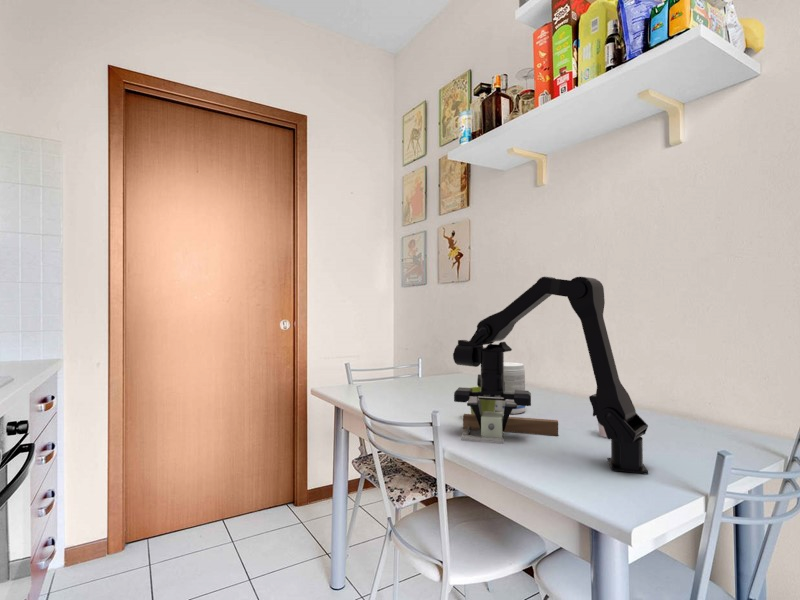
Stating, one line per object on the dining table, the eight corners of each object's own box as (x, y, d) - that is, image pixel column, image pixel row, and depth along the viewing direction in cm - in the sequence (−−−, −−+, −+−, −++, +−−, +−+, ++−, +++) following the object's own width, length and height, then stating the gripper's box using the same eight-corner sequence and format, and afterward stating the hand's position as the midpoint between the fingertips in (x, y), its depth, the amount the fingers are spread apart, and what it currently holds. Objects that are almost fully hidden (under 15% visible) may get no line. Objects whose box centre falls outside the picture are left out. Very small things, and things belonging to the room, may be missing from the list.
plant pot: (482, 425, 121) (482, 394, 121) (459, 418, 129) (459, 388, 129) (506, 420, 126) (506, 390, 126) (482, 414, 134) (482, 385, 134)
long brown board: (558, 435, 111) (558, 422, 111) (463, 428, 118) (463, 415, 118) (557, 433, 113) (557, 420, 113) (464, 426, 120) (464, 413, 120)
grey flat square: (503, 443, 105) (503, 439, 105) (461, 439, 108) (461, 435, 108) (505, 432, 114) (505, 428, 114) (466, 429, 117) (466, 425, 117)
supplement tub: (531, 411, 138) (531, 363, 138) (514, 416, 131) (514, 366, 131) (504, 406, 145) (504, 361, 145) (487, 410, 138) (487, 363, 138)
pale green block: (501, 440, 107) (501, 419, 107) (480, 438, 108) (480, 418, 108) (503, 431, 114) (503, 412, 114) (483, 430, 116) (483, 411, 116)
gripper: (530, 365, 117) (530, 425, 116) (460, 363, 122) (460, 420, 122) (530, 371, 106) (531, 436, 106) (453, 368, 111) (453, 431, 111)
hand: (492, 430), depth 111 cm, fingers closed on pale green block, 5 cm apart
